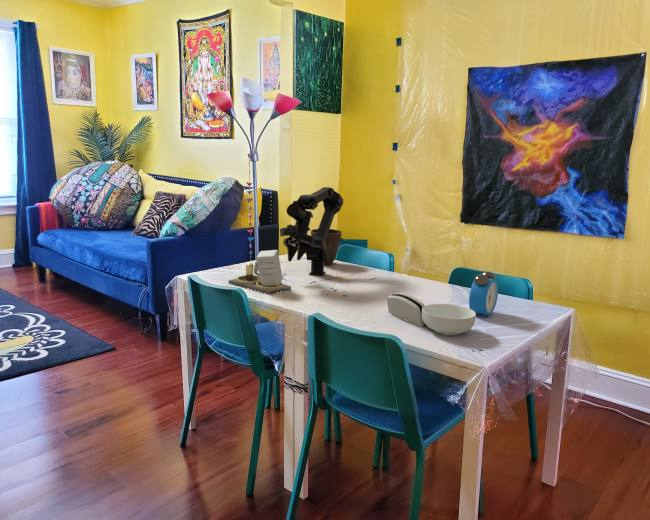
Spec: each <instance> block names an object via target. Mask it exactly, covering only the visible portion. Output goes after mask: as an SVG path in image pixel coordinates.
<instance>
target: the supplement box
mask: <svg viewBox="0 0 650 520" xmlns="http://www.w3.org/2000/svg"><path fill="white" fill-rule="evenodd" d="M256 260H257V263H258V269H259V271H258V273H259V276H260V280H261V285H262V286H278V285H280V283H281V282H283V273H282V267H281V263H280V256H279V250H278V249H271V250H260V251H259V253H258V254H257V255H256Z"/></svg>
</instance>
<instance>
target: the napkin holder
mask: <svg viewBox="0 0 650 520" xmlns="http://www.w3.org/2000/svg"><path fill="white" fill-rule="evenodd" d="M386 301H387V302H386V303H387V304H386V305H387V309H388V314H389V313H391V314H393V315H392V316H394V315H396V316H398V317H397V318H399V317H401V318H403V319H402V320H404V319H406V320H408V321H407V322H409V321H411V322H413V323H412V324H414V323H416V324H418V325H417V326H419V325H421V326H423V325H425V326H426V324H425V323H424V321H423V319H422V308H423V307H424V306H426V305H425V304H424V303H423V302H422V301H421V300H419V299H418V298H416V297H414V296H412V295H411V294H408V293H405V292H395V293H392V294H391V295H389V296H388V297H387V298H386ZM391 314H390V315H391ZM396 316H395V317H396ZM401 318H400V319H401ZM406 320H405V321H406ZM411 322H410V323H411ZM416 324H415V325H416ZM421 326H420V327H421ZM423 327H424V326H423Z"/></svg>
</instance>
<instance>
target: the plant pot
mask: <svg viewBox="0 0 650 520" xmlns="http://www.w3.org/2000/svg"><path fill="white" fill-rule="evenodd" d="M317 231H318V228H316V229H315V228H314V229H310V236H313V238H315V236H316V233H317ZM342 233H343V232H342V231H341V230H339V229H333V228H332V229H331V228H330V229H329V232H328V235H327V238H326V241H325V244H326V248H327V249H326V251H327V253H328V255H329V259H328V262H324V266H332V265H333V263H334V262H335V260H336V257H337V255H338V254H337V253H338V250H339V247H340V243H341V239H342ZM331 264H332V265H331Z"/></svg>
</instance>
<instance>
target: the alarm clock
mask: <svg viewBox="0 0 650 520" xmlns="http://www.w3.org/2000/svg"><path fill="white" fill-rule="evenodd" d="M498 283H499V282H497V280H496V275H495V273H493V272H492V271H483V272H482V273H481V274H478V275H477V274H476V276H475V277H474V279H473V282H472V284H471V287H470V291H469V297H468V298H469V299H468V306H469V307H468V308H469V309H471V310H473V311H474V312H475V313H476V315H477V314H478V315H481V316H483V318H484V317H486V316H489V317H490V315H491V314H492V313H493V312H494V311H495V308H496V305H497V303H498V302H497V301H498V297H499V284H498Z"/></svg>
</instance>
